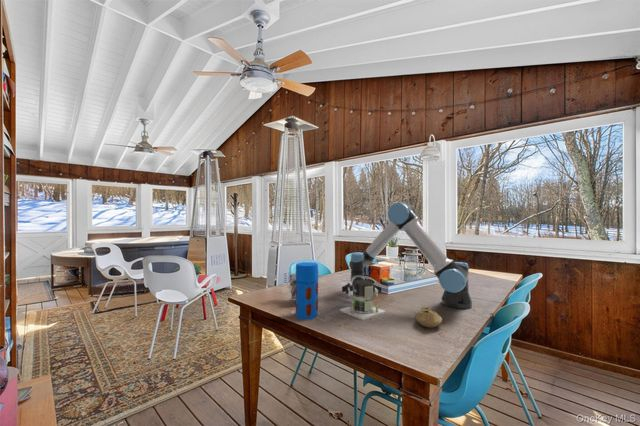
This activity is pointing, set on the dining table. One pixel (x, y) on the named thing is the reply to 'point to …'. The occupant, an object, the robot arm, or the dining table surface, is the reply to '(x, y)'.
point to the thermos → (306, 290)
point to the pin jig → (363, 315)
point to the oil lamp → (428, 318)
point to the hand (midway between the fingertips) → (363, 293)
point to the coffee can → (363, 296)
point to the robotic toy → (293, 285)
